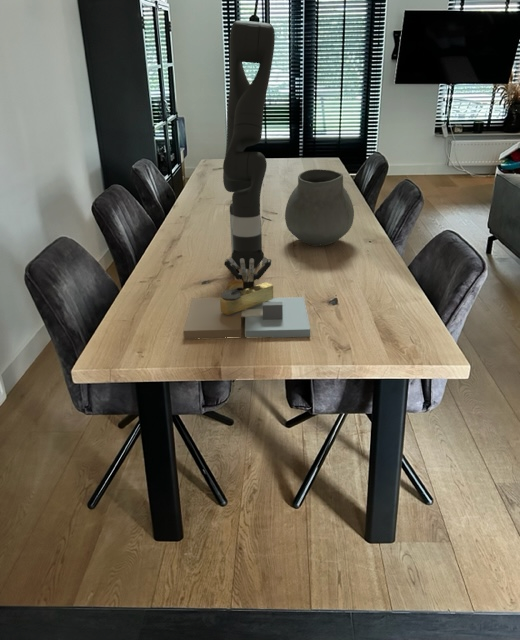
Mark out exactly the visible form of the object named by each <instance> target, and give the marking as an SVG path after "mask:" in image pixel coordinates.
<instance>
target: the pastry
mask: <svg viewBox="0 0 520 640" xmlns="http://www.w3.org/2000/svg"><path fill="white" fill-rule="evenodd" d="M229 289H235V290H239V291H241V290H243V281H242V280H241V279H232V280H230V281H228V282H227V285H226V289H225V290H229Z"/></svg>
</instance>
